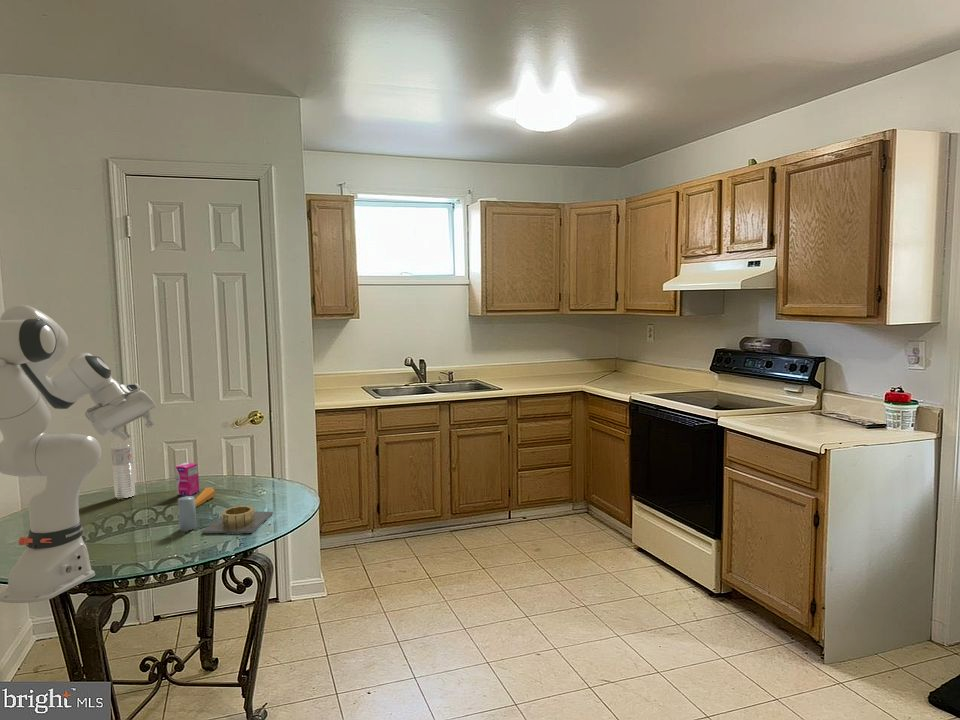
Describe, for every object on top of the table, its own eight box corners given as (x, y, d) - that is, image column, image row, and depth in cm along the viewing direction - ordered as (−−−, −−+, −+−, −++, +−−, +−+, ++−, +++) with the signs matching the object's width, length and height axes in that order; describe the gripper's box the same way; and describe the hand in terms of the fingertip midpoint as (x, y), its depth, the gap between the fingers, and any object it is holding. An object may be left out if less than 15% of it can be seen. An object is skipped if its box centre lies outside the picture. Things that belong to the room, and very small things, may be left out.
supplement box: (176, 496, 248) (174, 466, 246) (187, 491, 253) (185, 462, 252) (189, 497, 246) (186, 467, 245) (200, 492, 252) (198, 463, 250)
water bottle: (126, 500, 244) (121, 434, 241) (110, 499, 245) (105, 433, 243) (139, 494, 251) (134, 430, 248) (124, 494, 252) (118, 430, 249)
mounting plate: (251, 533, 205) (251, 530, 205) (202, 534, 206) (201, 531, 206) (273, 514, 223) (272, 511, 223) (227, 514, 224) (227, 512, 224)
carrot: (208, 498, 246) (203, 488, 246) (218, 494, 245) (213, 483, 245) (180, 522, 227) (173, 511, 226) (190, 517, 226) (184, 506, 225)
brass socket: (247, 526, 209) (246, 515, 209) (217, 526, 210) (216, 515, 210) (259, 515, 219) (258, 505, 219) (230, 516, 220) (230, 505, 219)
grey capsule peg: (192, 531, 209) (189, 500, 208) (176, 531, 209) (174, 501, 208) (199, 525, 214) (197, 496, 213) (184, 526, 214) (182, 496, 213)
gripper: (86, 406, 195) (116, 442, 196) (141, 381, 213) (169, 414, 214) (77, 416, 198) (107, 452, 199) (133, 391, 216) (160, 424, 217)
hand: (139, 432), depth 207 cm, fingers open, 8 cm apart
